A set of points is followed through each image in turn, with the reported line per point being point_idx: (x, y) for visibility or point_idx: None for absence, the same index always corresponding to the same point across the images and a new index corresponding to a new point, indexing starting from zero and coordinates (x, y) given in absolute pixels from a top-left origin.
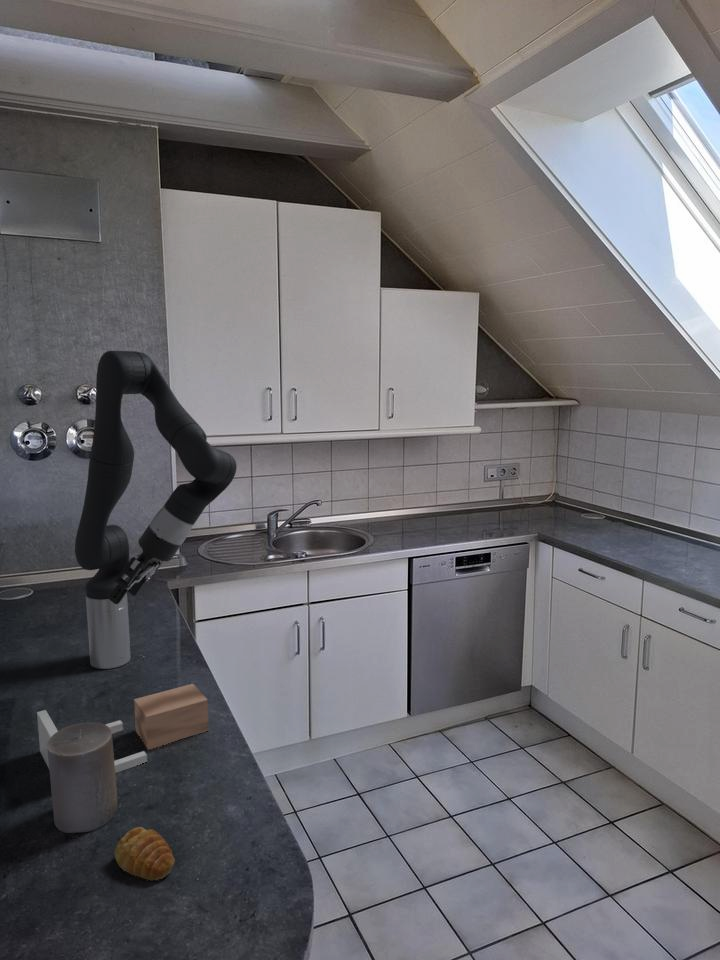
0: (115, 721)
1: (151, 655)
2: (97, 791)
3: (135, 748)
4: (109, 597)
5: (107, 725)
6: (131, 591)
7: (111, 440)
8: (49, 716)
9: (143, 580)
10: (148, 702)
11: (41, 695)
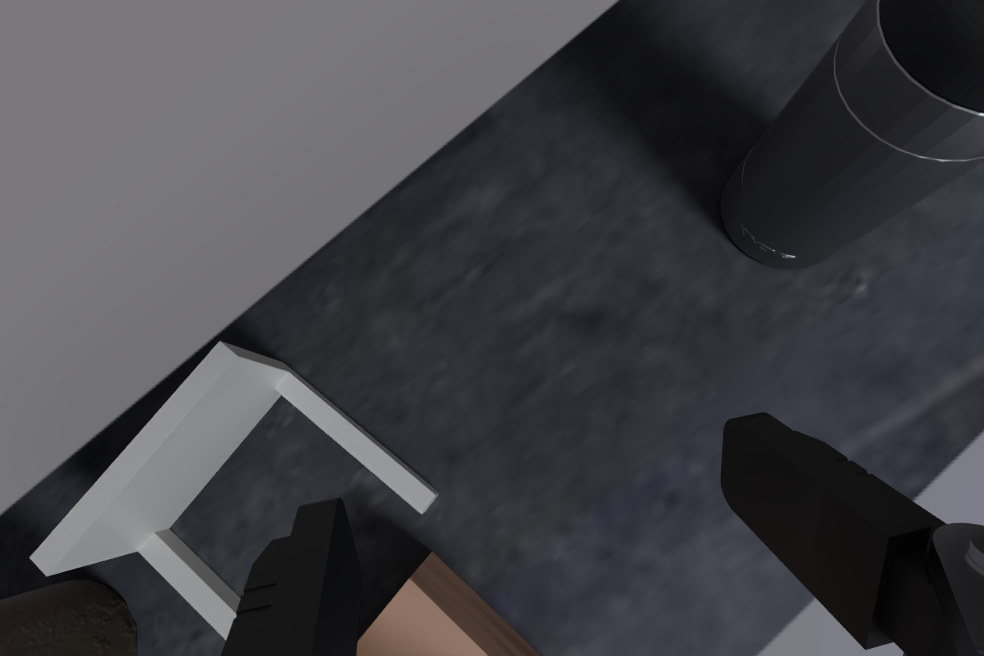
0: (424, 486)
1: (879, 308)
2: None
3: None
4: (299, 511)
5: (398, 477)
6: (735, 466)
7: None
8: (202, 396)
9: (886, 636)
10: (400, 649)
11: (526, 172)
